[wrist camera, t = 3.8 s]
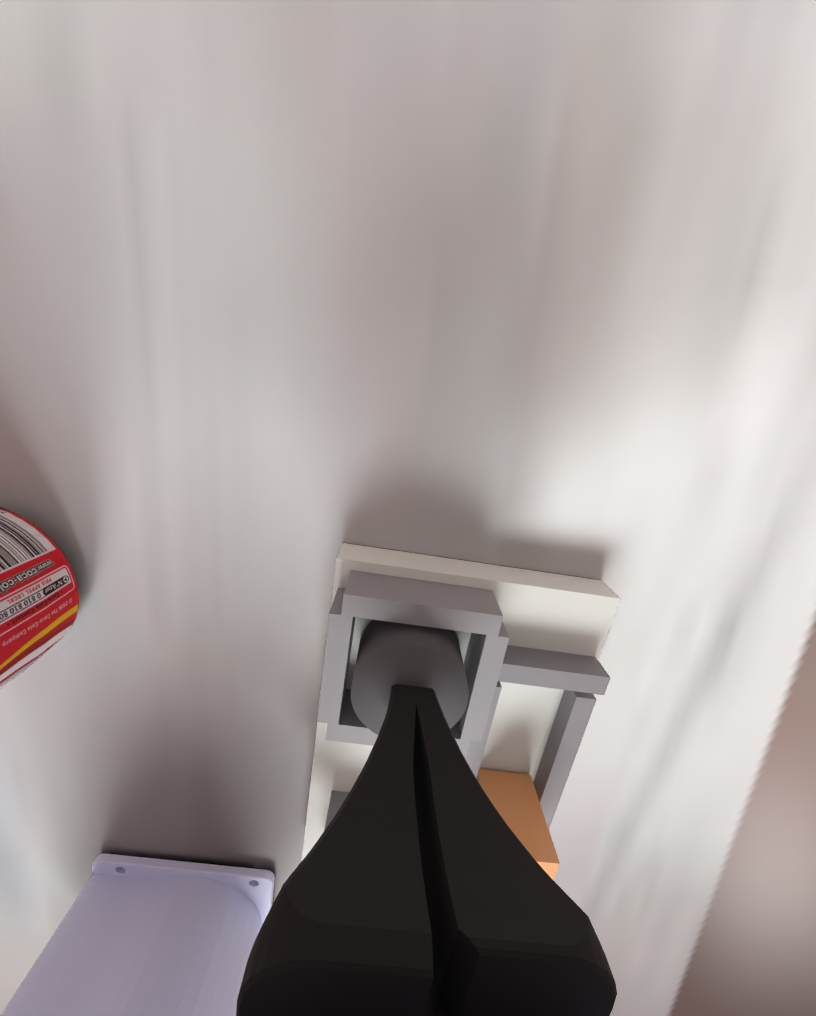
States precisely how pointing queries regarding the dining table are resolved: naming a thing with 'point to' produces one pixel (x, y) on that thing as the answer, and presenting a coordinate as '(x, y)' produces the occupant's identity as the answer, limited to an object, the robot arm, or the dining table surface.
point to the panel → (468, 665)
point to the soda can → (31, 595)
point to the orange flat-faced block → (521, 813)
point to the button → (407, 669)
